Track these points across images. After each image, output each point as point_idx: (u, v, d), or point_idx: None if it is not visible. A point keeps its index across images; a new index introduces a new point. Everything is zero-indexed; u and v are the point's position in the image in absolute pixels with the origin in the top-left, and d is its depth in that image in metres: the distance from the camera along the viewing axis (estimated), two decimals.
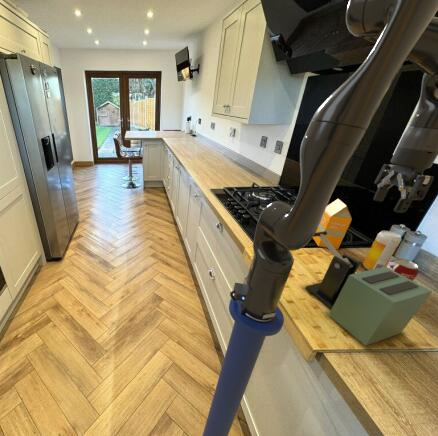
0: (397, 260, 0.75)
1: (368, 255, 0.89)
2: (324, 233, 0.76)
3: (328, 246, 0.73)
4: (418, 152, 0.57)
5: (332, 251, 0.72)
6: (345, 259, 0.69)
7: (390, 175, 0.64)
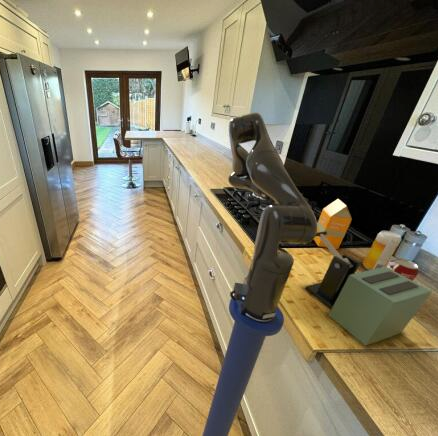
0: (397, 260, 0.75)
1: (368, 255, 0.89)
2: (324, 233, 0.76)
3: (328, 246, 0.73)
4: None
5: (332, 251, 0.72)
6: (345, 259, 0.69)
7: None
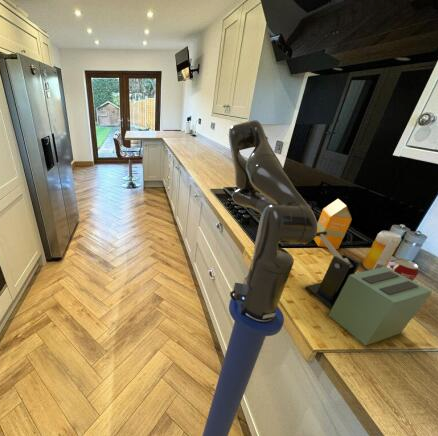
0: (397, 260, 0.75)
1: (368, 255, 0.89)
2: (324, 233, 0.76)
3: (328, 246, 0.73)
4: None
5: (332, 251, 0.72)
6: (345, 259, 0.69)
7: None
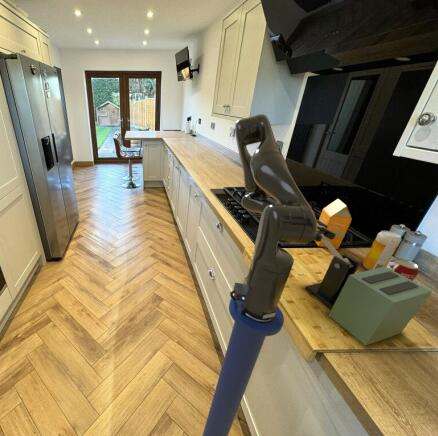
0: (397, 260, 0.75)
1: (368, 255, 0.89)
2: (324, 233, 0.76)
3: (328, 246, 0.73)
4: None
5: (332, 251, 0.72)
6: (345, 259, 0.69)
7: None
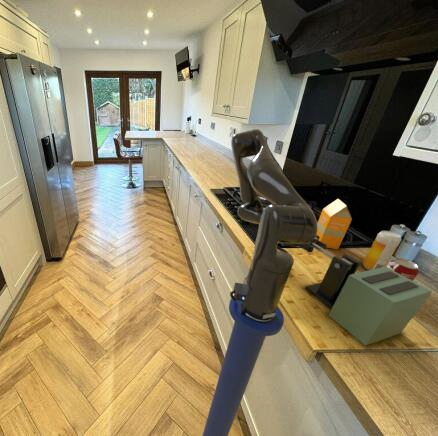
0: (397, 260, 0.75)
1: (368, 255, 0.89)
2: (316, 242, 0.79)
3: (323, 252, 0.75)
4: None
5: (328, 255, 0.73)
6: (343, 259, 0.70)
7: None
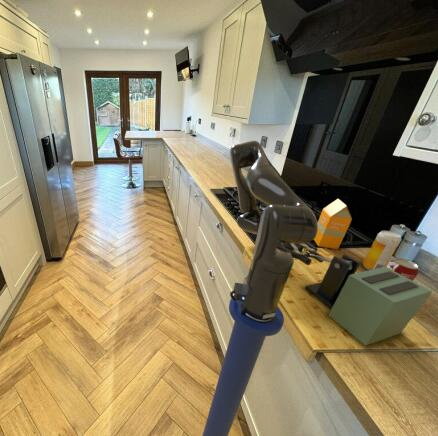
0: (397, 260, 0.75)
1: (368, 255, 0.89)
2: (313, 253, 0.80)
3: (321, 258, 0.75)
4: None
5: (327, 260, 0.74)
6: None
7: None
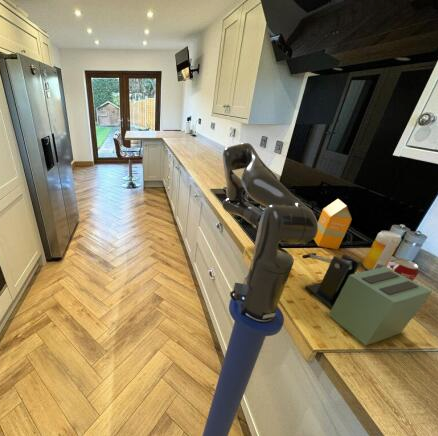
0: (397, 260, 0.75)
1: (368, 255, 0.89)
2: (313, 254, 0.80)
3: (321, 259, 0.75)
4: None
5: (327, 260, 0.74)
6: None
7: None
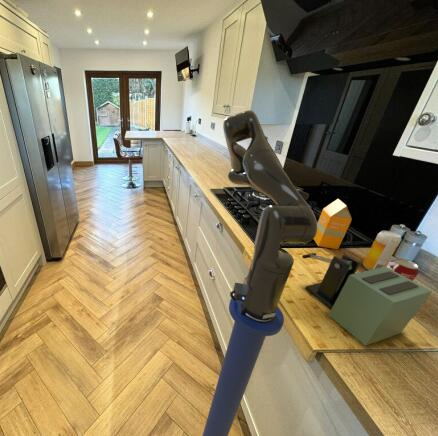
0: (397, 260, 0.75)
1: (368, 255, 0.89)
2: (313, 254, 0.80)
3: (321, 259, 0.75)
4: None
5: (327, 260, 0.74)
6: None
7: None
